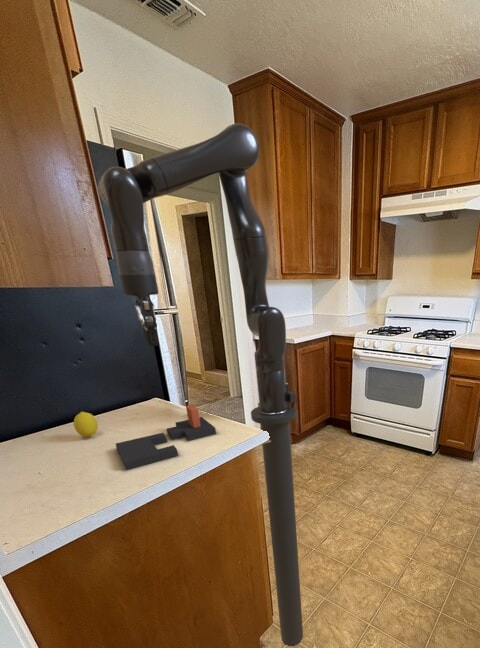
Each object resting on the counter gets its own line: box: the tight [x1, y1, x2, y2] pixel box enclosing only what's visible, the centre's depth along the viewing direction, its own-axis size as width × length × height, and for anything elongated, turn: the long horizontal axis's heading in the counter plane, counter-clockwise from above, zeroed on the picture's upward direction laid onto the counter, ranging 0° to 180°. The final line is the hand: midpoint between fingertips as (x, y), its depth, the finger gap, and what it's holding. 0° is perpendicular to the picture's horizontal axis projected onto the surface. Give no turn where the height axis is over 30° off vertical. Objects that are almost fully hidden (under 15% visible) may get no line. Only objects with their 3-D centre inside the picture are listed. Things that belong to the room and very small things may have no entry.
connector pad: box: [166, 404, 217, 442], centre depth 103 cm, size 12×12×8 cm
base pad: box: [115, 432, 179, 471], centre depth 92 cm, size 12×14×2 cm
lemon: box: [73, 411, 99, 439], centre depth 101 cm, size 6×6×8 cm
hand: (152, 343), depth 89 cm, fingers open, 8 cm apart
